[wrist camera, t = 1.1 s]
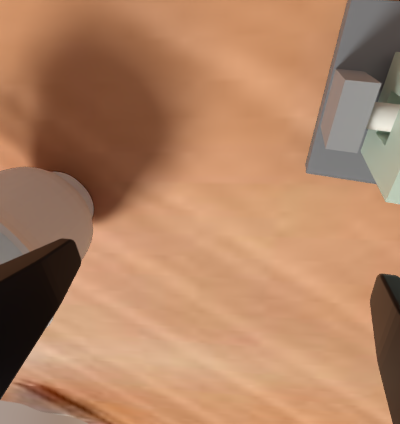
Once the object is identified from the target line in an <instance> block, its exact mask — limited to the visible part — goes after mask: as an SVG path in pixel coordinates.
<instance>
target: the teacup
mask: <svg viewBox="0 0 400 424" xmlns="http://www.w3.org/2000/svg"><path fill="white" fill-rule="evenodd" d="M93 213H94V206H93V202H92V199H91V197H90V195H89V193H88V192H87V190H86V189H85V188H84V186H83V185H82V184H81V183H80V182H78V181H77V180H76V179H75V178H73V177H72V176H70V175H68V174H65V173H62V172H50V171H47V170H44V169H40V168H35V167H17V168H10V169H6V170H2V171H0V265H1V264H3V263H5V262H8V261H10V260H12V259H14V258H17V257H19V256H21V255H24V254H26V253H28V252H31V251H33V250H35V249H37V248H40V247H42V246H44V245H47V244H49V243H51V242H54V241H56V240H58V239H61V238H65V239H72V240H74V241H75V243H76V245H77V248H78V251H79V254H80V257H81V261H82V259H83V257H84V256H85V254H86V252H87V251H88V248H89V246H90V243H91V240H92V235H93V223H92V217H93ZM53 317H54V316H53ZM52 320H53V318H52V319H51V321H52ZM51 321H50V322H49V324H48V325H47V327H48V326H49V325H50V323H51ZM47 327H46V328H47Z"/></svg>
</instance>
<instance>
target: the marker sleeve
mask: <svg viewBox="0 0 400 424" xmlns="http://www.w3.org/2000/svg"><path fill="white" fill-rule="evenodd" d="M378 102H382V103H391V104H400V52H395V54H394V57H393V60H392V63H391V66H390V69H389V72H388V74H387V77H386V80H385V83H384V86H383V89H382V91H381V94H380V97H379V100H378ZM361 153H362V155H363V157H364V159H365V162H366V164H367V166H368V168H369V170H370V172H371V174H372V176H373V178H374V180H375V182H376V184H377V186H378V188H379V190H380V192H381V194H382V196H383V198H384V200H385V202H389V203H395V204H400V109H399V112H398V114H397V117H396V119H395V122H394V124H393V127H392V130H391V132H387V131H379V130H371V129H368V131H367V134H366V137H365V140H364V143H363V146H362V148H361Z"/></svg>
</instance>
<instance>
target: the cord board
mask: <svg viewBox="0 0 400 424" xmlns="http://www.w3.org/2000/svg"><path fill="white" fill-rule="evenodd" d="M395 52H400V1H387V0H348V1H347V5H346V9H345V13H344V17H343V20H342V24H341V28H340V32H339V36H338V40H337V44H336V48H335V52H334V55H333V59H332V63H331V67H330V71H329V75H328V79H327V83H326V87H325V90H324V94H323V98H322V102H321V106H320V110H319V114H318V118H317V122H316V125H315V129H314V133H313V137H312V141H311V145H310V149H309V153H308V156H307V160H306V173H309V174H315V175H322V176H328V177H334V178H341V179H347V180H354V181H360V182H366V183H373V184H376V182H375V180H374V178H373V176H372V174H371V172H370V170H369V168H368V166H367V164H366V162H365V159H364V157H363V155H362V153H361V148H362V146H363V143H364V140H365V137H366V134H367V131H368V129H371V130H379V131H387V132H391V130H392V127H393V124H394V122H395V119H396V117H397V114H398V112H399V109H400V104H391V103H382V102H378V100H379V97H380V94H381V91H382V89H383V86H384V83H385V80H386V77H387V74H388V72H389V69H390V66H391V63H392V60H393V57H394V54H395Z"/></svg>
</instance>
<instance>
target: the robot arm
mask: <svg viewBox="0 0 400 424" xmlns="http://www.w3.org/2000/svg"><path fill="white" fill-rule="evenodd" d="M80 265H81V257H80V254H79V251H78V248H77V245H76V243H75V241H74V240H72V239H65V238H61V239H58V240H56V241H54V242H51V243H49V244H47V245H44V246H42V247H40V248H37V249H35V250H33V251H31V252H28V253H26V254H24V255H21V256H19V257H17V258H14V259H12V260H10V261H8V262H5V263H3V264H1V265H0V399H1V398H2V396H3V395H4V393H5V392H6V390H7V388H8V387H9V385H10V384H11V382H12V380H13V379H14V377H15V376H16V374H17V373H18V371H19V369H20V368H21V366H22V365H23V363H24V362H25V360H26V358H27V357H28V355H29V354H30V352H31V351H32V349H33V347H34V346H35V344H36V343H37V341H38V340H39V338H40V336H41V335H42V333H43V332H44V330H45V329H46V327H47V325H48V324H49V322H50V321H51V319H52V318H53V316H54V314H55V313H56V311H57V310H58V308H59V306H60V305H61V303H62V301H63V299H64V297H65V295H66V293H67V291H68V289H69V287H70V285H71V283H72V281H73V279H74V277H75V275H76V273H77V271H78V269H79V267H80ZM370 307H371V315H372V323H373V331H374V339H375V347H376V354H377V361H378V366H379V370H380V374H381V378H382V382H383V386H384V390H385V394H386V398H387V402H388V406H389V410H390V414H391V418H392V422H393V424H400V278H399V277H398V276H396V275H389V274H379V275H378V276H377V278H376V281H375V284H374V288H373V291H372V294H371V299H370Z"/></svg>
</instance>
